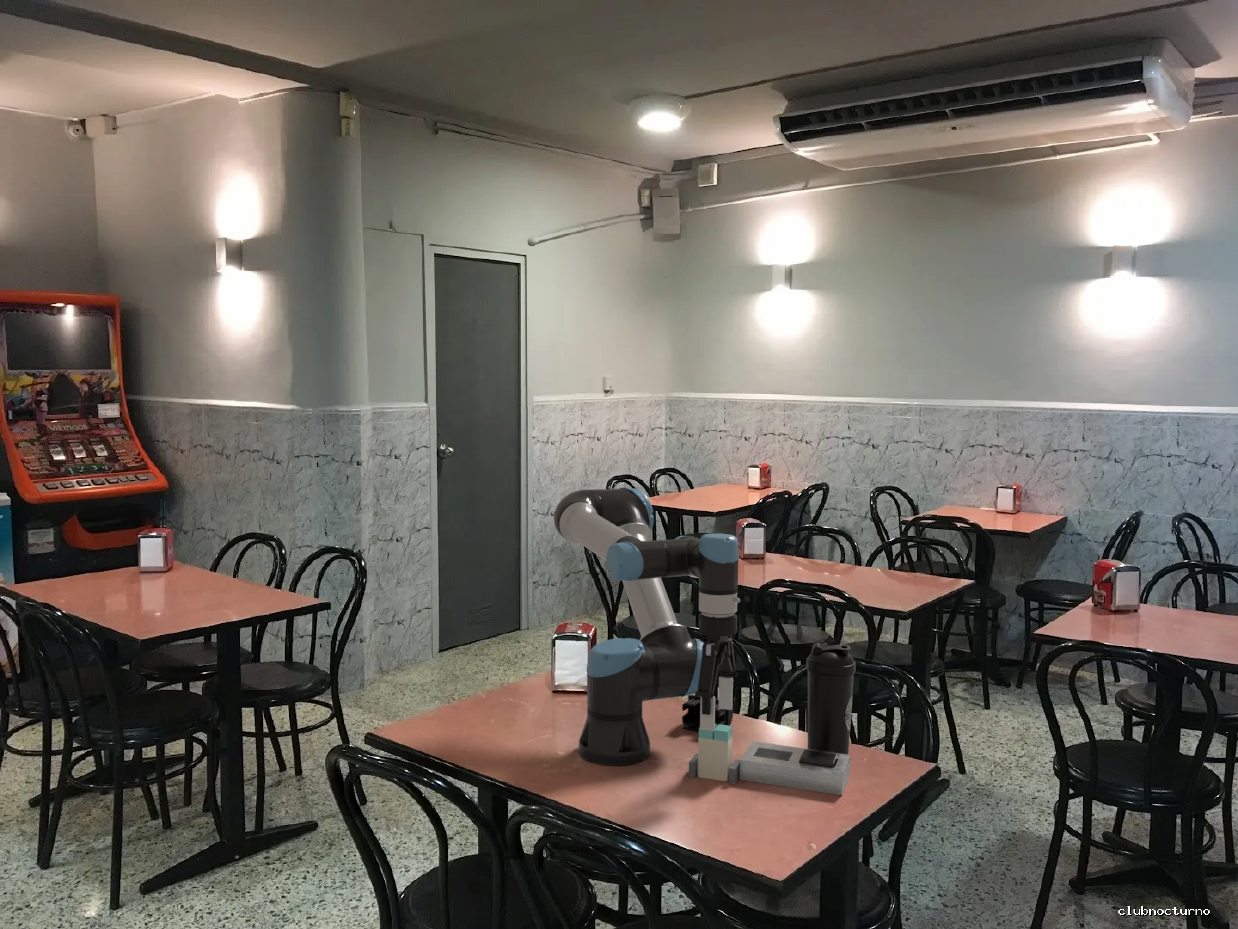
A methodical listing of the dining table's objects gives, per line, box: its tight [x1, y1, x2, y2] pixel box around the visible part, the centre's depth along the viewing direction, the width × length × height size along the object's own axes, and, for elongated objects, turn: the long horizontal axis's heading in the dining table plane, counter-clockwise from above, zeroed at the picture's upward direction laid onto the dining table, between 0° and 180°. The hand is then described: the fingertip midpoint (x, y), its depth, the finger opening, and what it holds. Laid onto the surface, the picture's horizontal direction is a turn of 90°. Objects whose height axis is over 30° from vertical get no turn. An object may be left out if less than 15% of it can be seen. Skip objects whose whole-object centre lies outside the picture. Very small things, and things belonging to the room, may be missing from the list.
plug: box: [697, 724, 733, 782], centre depth 196 cm, size 6×4×10 cm, turn 69°
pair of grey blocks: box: [688, 752, 740, 785], centre depth 196 cm, size 9×5×3 cm, turn 69°
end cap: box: [681, 694, 734, 733], centre depth 223 cm, size 10×7×7 cm
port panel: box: [738, 740, 852, 796], centre depth 196 cm, size 20×11×5 cm, turn 69°
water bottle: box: [805, 642, 857, 755], centre depth 208 cm, size 10×10×23 cm
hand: (716, 719), depth 195 cm, fingers open, 13 cm apart
